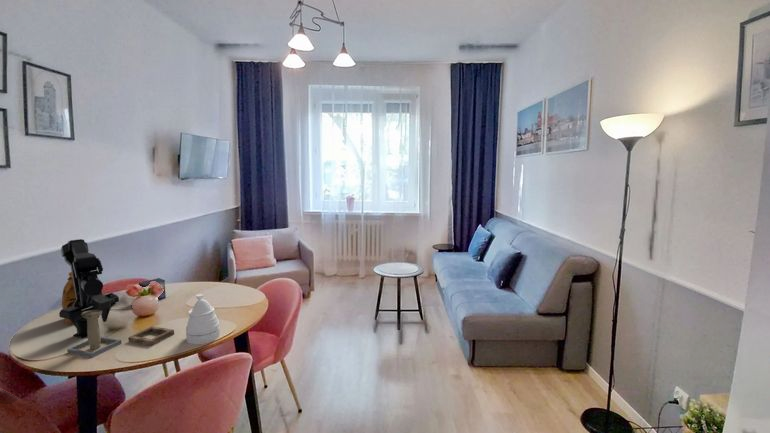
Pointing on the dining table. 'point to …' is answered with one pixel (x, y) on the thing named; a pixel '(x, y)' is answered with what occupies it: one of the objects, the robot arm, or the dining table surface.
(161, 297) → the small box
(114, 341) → the frame
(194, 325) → the honey pot
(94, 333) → the handle
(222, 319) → the dining table surface
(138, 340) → the socket stand
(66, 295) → the coffee package
